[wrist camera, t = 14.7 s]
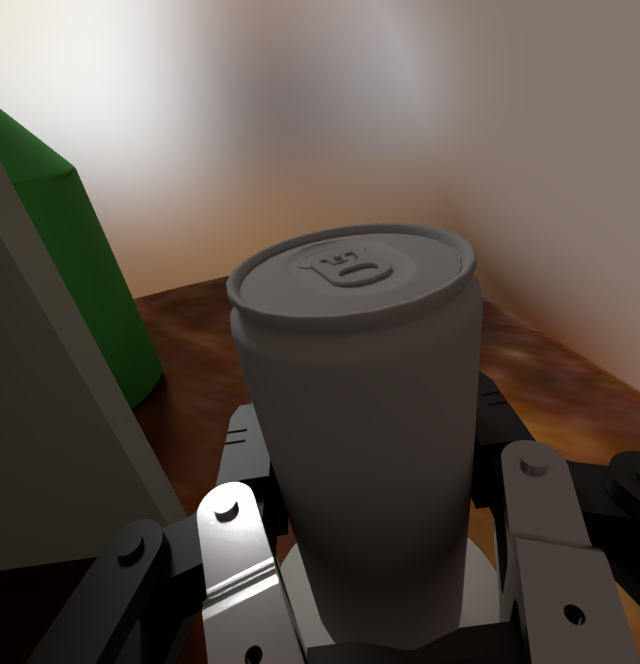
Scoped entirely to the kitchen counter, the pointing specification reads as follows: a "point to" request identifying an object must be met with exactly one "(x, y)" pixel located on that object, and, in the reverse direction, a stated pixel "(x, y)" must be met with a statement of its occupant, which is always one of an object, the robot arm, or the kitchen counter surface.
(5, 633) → the kitchen counter surface
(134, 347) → the bottle
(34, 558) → the shelf housing
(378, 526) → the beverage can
